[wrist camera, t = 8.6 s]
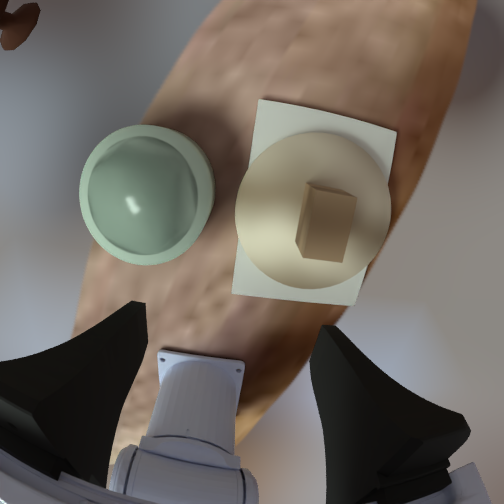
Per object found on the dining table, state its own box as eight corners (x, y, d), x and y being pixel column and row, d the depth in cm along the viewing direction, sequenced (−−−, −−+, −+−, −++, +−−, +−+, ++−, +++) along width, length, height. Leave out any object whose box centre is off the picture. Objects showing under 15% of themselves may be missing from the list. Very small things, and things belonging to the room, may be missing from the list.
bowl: (208, 256, 21) (202, 274, 18) (99, 241, 21) (81, 255, 18) (223, 131, 18) (219, 129, 15) (103, 126, 17) (83, 125, 15)
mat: (352, 302, 23) (354, 306, 22) (231, 289, 22) (231, 293, 22) (393, 132, 18) (396, 132, 17) (258, 100, 17) (258, 99, 17)
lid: (365, 290, 22) (383, 315, 18) (227, 275, 21) (223, 302, 18) (398, 153, 18) (427, 156, 14) (247, 120, 17) (246, 113, 14)
